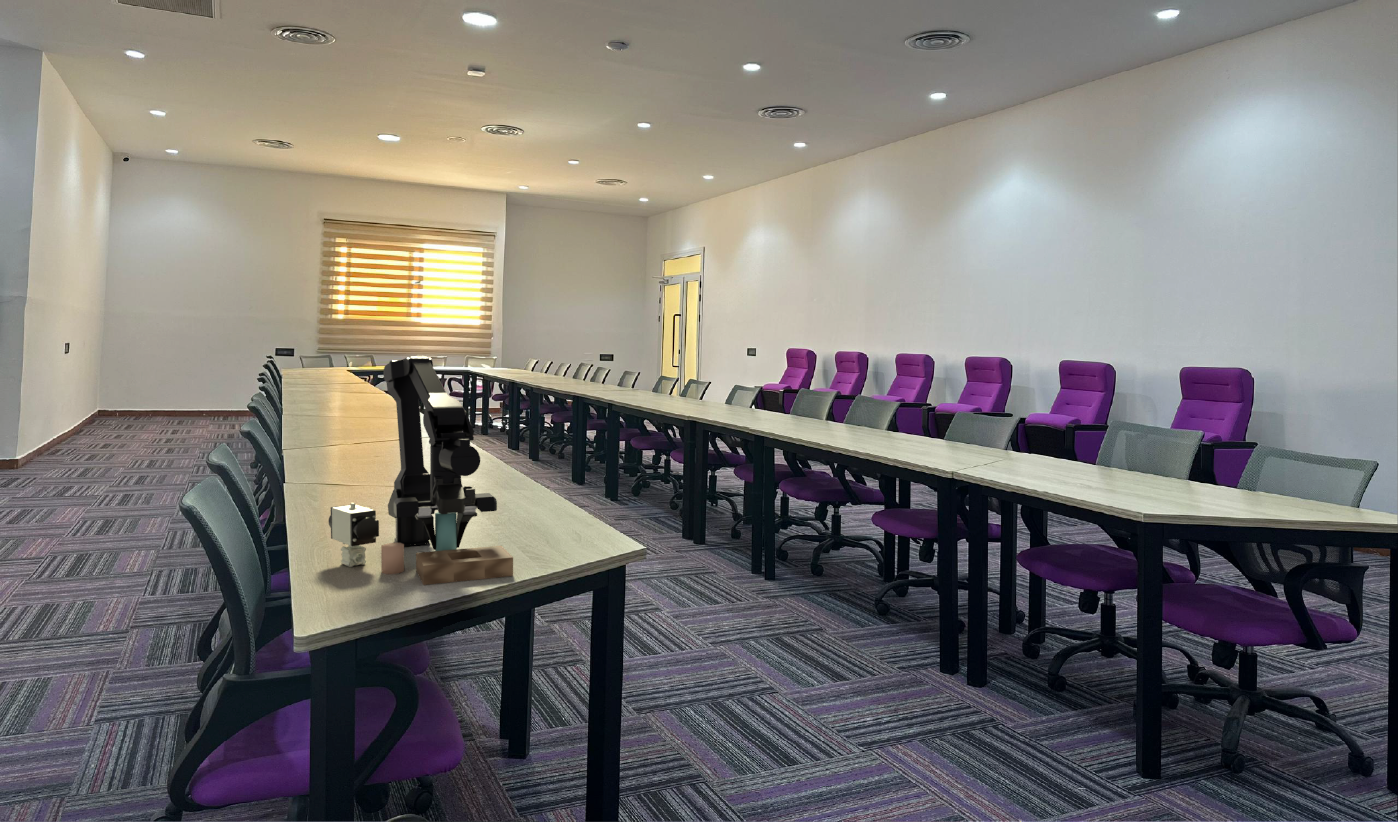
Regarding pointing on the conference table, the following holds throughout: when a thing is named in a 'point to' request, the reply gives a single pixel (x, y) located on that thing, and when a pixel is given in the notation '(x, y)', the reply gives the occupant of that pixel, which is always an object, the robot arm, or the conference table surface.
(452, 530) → the tall pin
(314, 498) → the conference table surface
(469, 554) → the bore board
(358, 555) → the pneumatic valve
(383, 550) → the short pin
